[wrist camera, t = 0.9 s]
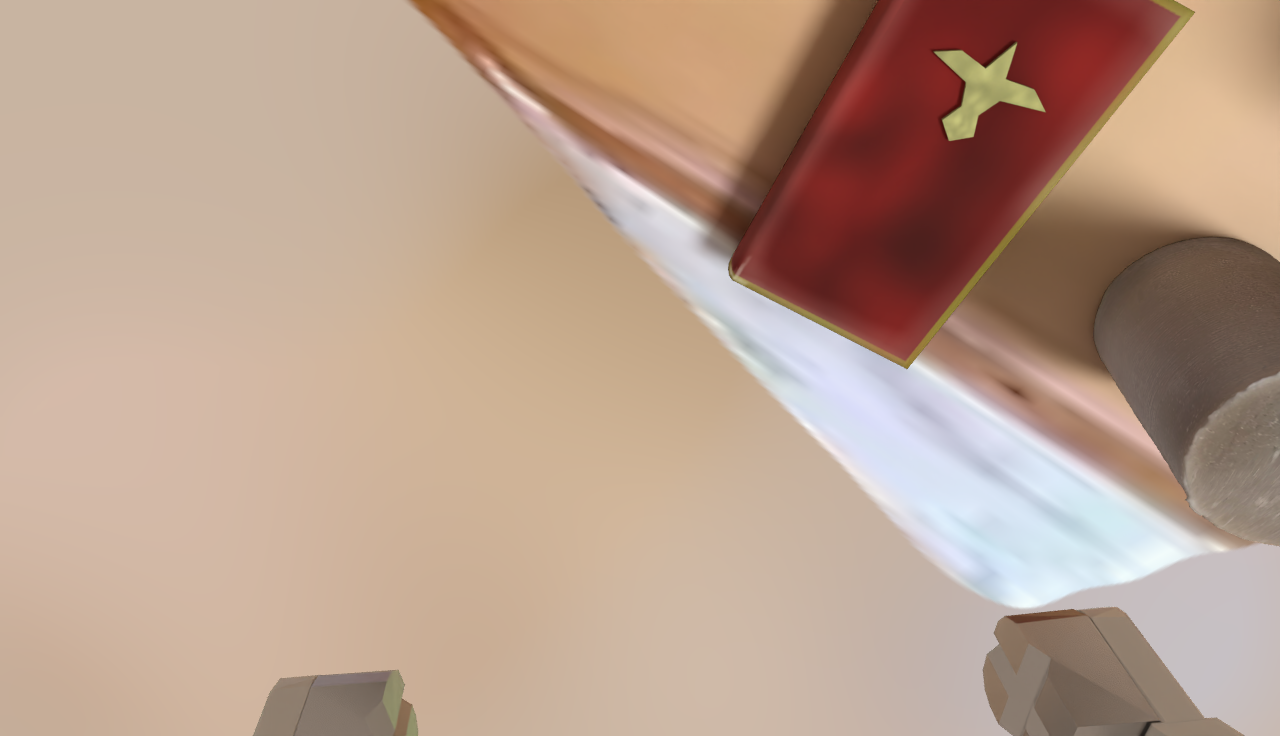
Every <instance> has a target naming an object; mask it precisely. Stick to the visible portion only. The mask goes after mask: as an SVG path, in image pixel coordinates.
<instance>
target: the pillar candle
mask: <svg viewBox="0 0 1280 736" xmlns="http://www.w3.org/2000/svg"><path fill="white" fill-rule="evenodd" d="M1093 335H1094V342H1095V345H1096V348H1097V351H1098V353H1099V357H1100V359H1101V361H1102V362H1103V363H1104V364H1105V366H1106V368H1107V370H1108V371H1109V373H1110V374H1111V376H1112V378H1113V379H1114V381H1115V382H1116V385H1117V386H1118V388H1119V389H1120V391H1121V393H1122V394H1123V395H1124V397H1125V399H1126V401H1127V402H1128V403H1129V405H1130V407H1131V408H1132V410H1133V412H1134V414H1135V415H1136V417H1137V418H1138V420H1139V421H1140V423H1141V424H1142V426H1143V428H1144V429H1145V430H1146V432H1147V433H1148V435H1149V436H1150V437H1151V439H1152V440H1153V442H1154V444H1155V445H1156V446H1157V448H1158V450H1159V451H1160V453H1161V455H1162V456H1163V458H1164V460H1165V461H1166V462H1167V463H1168V465H1169V467H1170V469H1171V471H1172V473H1173V474H1174V476H1175V478H1176V479H1177V481H1178V482H1179V484H1180V485H1181V486H1182V488H1183V489H1184V491H1185V493H1186V495H1187V499H1186V501H1188V502H1189V507H1190V508H1191V509H1192V510H1193V511H1194V512H1195V513H1197V514H1198V515H1200V516H1201V515H1202V516H1203V517H1204V518H1205V519H1207V520H1209V521H1210V522H1212V523H1213V524H1214V525H1215V526H1216V527H1218V528H1219V529H1222V530H1224V531H1226V532H1228V533H1230V534H1232V535H1235V536H1237V537H1239V538H1241V539H1245V540H1248V541H1253V542H1258V543H1263V544H1269V545H1276V546H1280V262H1279V261H1278V260H1276V259H1275V258H1274V257H1272V256H1271V255H1270V254H1268V253H1267V252H1265V251H1264V250H1262V249H1260V248H1257V247H1256V246H1253V245H1251V244H1249V243H1246V242H1244V241H1239V240H1235V239H1231V238H1219V237H1207V238H1196V239H1189V240H1185V241H1181V242H1177V243H1174V244H1171V245H1167V246H1164V247H1162V248H1160V249H1157V250H1155V251H1153V252H1151V253H1149V254H1147V255H1145V256H1144V257H1142V258H1141V259H1139V260H1137V261H1135V262H1134V263H1133V264H1131V265H1130V266H1128V267H1127V268H1126V269H1125V270H1124V271H1123V272H1122V273H1121V274H1120V275H1118V276H1117V277H1116V278H1115V279H1114V280H1113V282H1112V283H1111V284H1110V286H1109V287H1108V289H1107V290H1106V292H1105V294H1104V296H1103V299H1102V301H1101V304H1100V306H1099V309H1098V312H1097V314H1096V318H1095V324H1094V333H1093Z"/></svg>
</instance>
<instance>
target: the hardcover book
mask: <svg viewBox="0 0 1280 736" xmlns="http://www.w3.org/2000/svg"><path fill="white" fill-rule="evenodd" d="M1194 13H1195V12H1194V11H1192V10H1190V9H1189V8H1187V7H1185V6H1183V5H1181V4H1180V3H1178V2H1176V1H1174V0H879V1H878V2H877V4H876V6H875V8H874V9H873V11H872V13H871V14H870V16H869V18H868V20H867V21H866V23H865V25H864V27H863V28H862V30H861V32H860V34H859V35H858V37H857V39H856V41H855V42H854V44H853V46H852V48H851V49H850V51H849V53H848V55H847V56H846V58H845V60H844V62H843V63H842V65H841V67H840V69H839V70H838V72H837V74H836V76H835V77H834V79H833V81H832V83H831V84H830V86H829V88H828V90H827V91H826V93H825V95H824V97H823V98H822V100H821V102H820V104H819V105H818V107H817V109H816V111H815V112H814V114H813V116H812V118H811V119H810V121H809V123H808V125H807V126H806V128H805V130H804V132H803V133H802V135H801V137H800V139H799V140H798V142H797V144H796V146H795V147H794V149H793V151H792V153H791V154H790V156H789V158H788V160H787V161H786V163H785V165H784V167H783V168H782V170H781V172H780V174H779V175H778V177H777V179H776V181H775V182H774V184H773V186H772V188H771V189H770V191H769V193H768V194H767V196H766V198H765V200H764V201H763V203H762V205H761V207H760V208H759V210H758V212H757V214H756V215H755V217H754V219H753V221H752V222H751V224H750V226H749V228H748V229H747V231H746V233H745V235H744V236H743V238H742V240H741V242H740V243H739V245H738V247H737V249H736V250H735V252H734V254H733V256H732V257H731V259H730V262H729V266H728V271H729V276H730V278H731V279H732V280H733V281H735V282H737V283H739V284H741V285H743V286H745V287H747V288H749V289H751V290H753V291H755V292H757V293H759V294H761V295H763V296H765V297H767V298H769V299H771V300H772V301H774V302H776V303H778V304H780V305H782V306H784V307H786V308H788V309H790V310H792V311H794V312H796V313H798V314H800V315H802V316H804V317H806V318H808V319H810V320H812V321H814V322H816V323H818V324H820V325H822V326H824V327H826V328H827V329H829V330H831V331H833V332H835V333H837V334H839V335H841V336H843V337H845V338H847V339H849V340H851V341H853V342H855V343H857V344H859V345H861V346H863V347H865V348H867V349H869V350H871V351H873V352H875V353H877V354H879V355H881V356H883V357H884V358H886V359H888V360H890V361H892V362H894V363H896V364H898V365H900V366H902V367H904V368H906V369H908V368H909V366H910V365H911V364H912V363H913V361H914V360H915V359H916V358H917V356H918V355H919V354H920V353H921V351H922V350H923V349H924V348H925V346H926V345H927V344H928V343H929V342H930V340H931V339H932V338H933V337H934V335H935V334H936V333H937V332H938V330H939V329H940V328H941V327H942V325H943V324H944V323H945V322H946V320H947V319H948V318H949V317H950V315H951V314H952V313H953V312H954V311H955V309H956V308H957V307H958V306H959V304H960V303H961V302H962V301H963V299H964V298H965V297H966V296H967V294H968V293H969V292H970V291H971V289H972V288H973V287H974V286H975V284H976V283H977V282H978V281H979V280H980V278H981V277H982V276H983V275H984V273H985V272H986V271H987V270H988V268H989V267H990V266H991V265H992V263H993V262H994V261H995V260H996V258H997V257H998V256H999V255H1000V254H1001V252H1002V251H1003V250H1004V249H1005V247H1006V246H1007V245H1008V244H1009V242H1010V241H1011V240H1012V239H1013V237H1014V236H1015V235H1016V234H1017V232H1018V231H1019V230H1020V229H1021V227H1022V226H1023V225H1024V224H1025V223H1026V221H1027V220H1028V219H1029V218H1030V216H1031V215H1032V214H1033V213H1034V211H1035V210H1036V209H1037V208H1038V206H1039V205H1040V204H1041V203H1042V201H1043V200H1044V199H1045V198H1046V196H1047V195H1048V194H1049V193H1050V192H1051V190H1052V189H1053V188H1054V187H1055V185H1056V184H1057V183H1058V182H1059V180H1060V179H1061V178H1062V177H1063V175H1064V174H1065V173H1066V172H1067V170H1068V169H1069V168H1070V167H1071V165H1072V164H1073V163H1074V162H1075V161H1076V159H1077V158H1078V157H1079V156H1080V154H1081V153H1082V152H1083V151H1084V149H1085V148H1086V147H1087V146H1088V144H1089V143H1090V142H1091V141H1092V139H1093V138H1094V137H1095V136H1096V135H1097V133H1098V132H1099V131H1100V130H1101V128H1102V127H1103V126H1104V125H1105V123H1106V122H1107V121H1108V120H1109V118H1110V117H1111V116H1112V115H1113V113H1114V112H1115V111H1116V110H1117V108H1118V107H1119V106H1120V105H1121V104H1122V102H1123V101H1124V100H1125V99H1126V97H1127V96H1128V95H1129V94H1130V92H1131V91H1132V90H1133V89H1134V87H1135V86H1136V85H1137V84H1138V82H1139V81H1140V80H1141V79H1142V77H1143V76H1144V75H1145V74H1146V73H1147V71H1148V70H1149V69H1150V68H1151V66H1152V65H1153V64H1154V63H1155V61H1156V60H1157V59H1158V58H1159V56H1160V55H1161V54H1162V53H1163V51H1164V50H1165V49H1166V48H1167V47H1168V45H1169V44H1170V43H1171V42H1172V40H1173V39H1174V38H1175V37H1176V35H1177V34H1178V33H1179V32H1180V30H1181V29H1182V28H1183V27H1184V25H1185V24H1186V23H1187V22H1188V20H1189V19H1190V18H1191V17H1192V16H1193V14H1194Z"/></svg>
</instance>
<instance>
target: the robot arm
mask: <svg viewBox="0 0 1280 736" xmlns="http://www.w3.org/2000/svg"><path fill="white" fill-rule="evenodd" d="M994 634H995V636H996V638H997V640H998V642H999V645H998V646H997V647H995V648H994V649H993V650H992V651H990V652H989V653H988V654H987V656H986V660H985V664H984V668H983V676H984V686H985V692H986V695H987V698H988V701H989V704H990V707H991V709H992V711H993V713H994V716H995V718H996V720H997V722H998V724H999V725H1000V726H1001V727H1003V728H1004V729H1005V730H1007V731H1008V732H1009V733H1010V734H1012V735H1013V736H1244V735H1243V734H1241V733H1240V732H1238V731H1236V730H1235V729H1233V728H1232V727H1230V726H1229V725H1227V724H1226V723H1224V722H1222V721H1221V720H1219V719H1218V718H1204V717H1203V715H1202V714H1201V712H1200V711H1199V710H1198V708H1197V707H1196V706H1195V704H1194V703H1193V702H1192V701H1191V699H1190V698H1189V697H1188V695H1187V694H1186V692H1185V691H1184V690H1183V688H1182V687H1181V686H1180V685H1179V683H1178V682H1177V680H1176V679H1175V678H1174V677H1173V675H1172V674H1171V673H1170V671H1169V670H1168V669H1167V667H1166V666H1165V664H1164V663H1163V662H1162V660H1161V659H1160V658H1159V656H1158V655H1157V654H1156V653H1155V651H1154V650H1153V649H1152V647H1151V646H1150V644H1149V643H1148V642H1147V640H1146V639H1145V638H1144V637H1143V635H1142V634H1141V632H1140V631H1139V630H1138V628H1137V627H1136V626H1135V624H1134V623H1133V622H1132V620H1131V619H1130V618H1129V617H1128V615H1127V614H1126V613H1124V612H1123V611H1122V610H1120V609H1119V608H1117V607H1100V608H1091V609H1083V610H1074V609H1069V610H1059V611H1049V612H1041V613H1030V614H1021V615H1011V616H1004V617H1003V618H1002V619H1000V620H999V621H998V623H997V626H996V629H995V631H994ZM404 686H405V684H404V682H403V679H402V677H401V675H400V673H399V670H390V671H375V672H362V673H348V674H333V675H315V676H303V677H292V678H281V679H279V681H278V682H277V683H276V685H275V686H274V687H273V689H272V690H271V691H270V693H269V696H268V699H267V701H266V704H265V706H264V709H263V711H262V714H261V717H260V719H259V722H258V724H257V727H256V730H255V732H254V735H253V736H418V727H417V720H416V714H415V712H414V709H413V706H412V704H410V703H408V702H407V701H405V700H404V699H402V694H403V690H404Z"/></svg>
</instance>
